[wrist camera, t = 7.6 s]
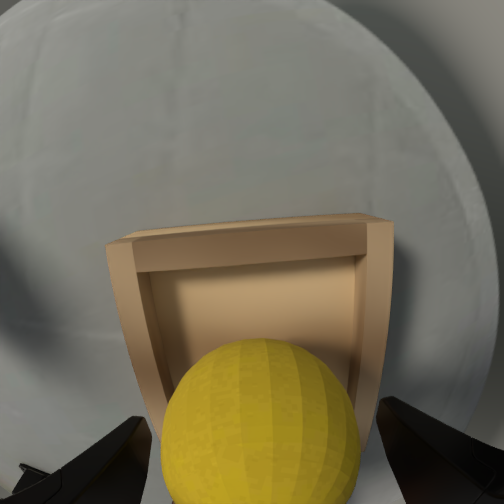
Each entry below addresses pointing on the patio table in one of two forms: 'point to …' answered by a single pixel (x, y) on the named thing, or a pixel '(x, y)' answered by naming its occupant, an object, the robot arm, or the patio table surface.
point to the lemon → (260, 429)
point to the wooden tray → (257, 298)
